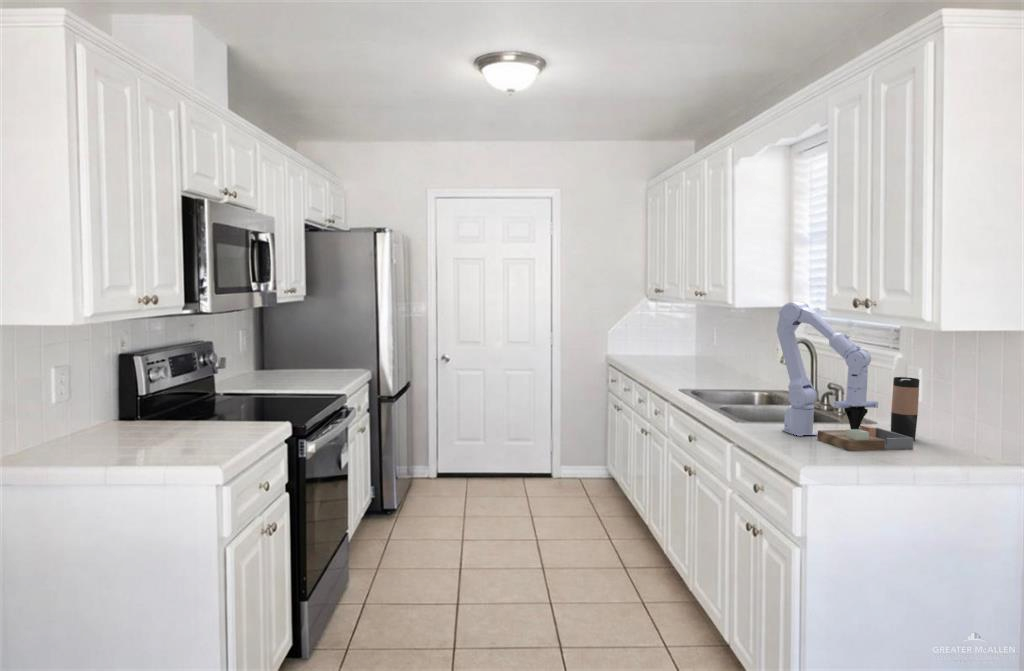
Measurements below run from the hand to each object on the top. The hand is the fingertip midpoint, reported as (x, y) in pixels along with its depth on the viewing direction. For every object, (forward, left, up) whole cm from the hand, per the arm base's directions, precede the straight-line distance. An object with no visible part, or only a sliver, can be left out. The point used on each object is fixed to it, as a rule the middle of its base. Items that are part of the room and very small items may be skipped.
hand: (854, 430), depth 234 cm
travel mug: (-3, +20, -4) cm, 21 cm away
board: (+3, -4, -4) cm, 6 cm away
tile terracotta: (0, +3, -1) cm, 4 cm away
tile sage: (+7, -5, -1) cm, 9 cm away
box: (+3, +7, -4) cm, 9 cm away
